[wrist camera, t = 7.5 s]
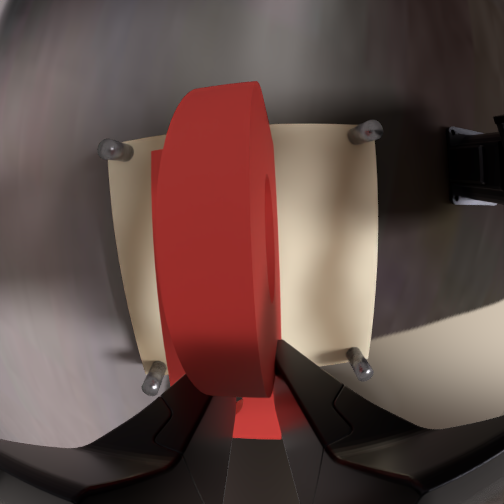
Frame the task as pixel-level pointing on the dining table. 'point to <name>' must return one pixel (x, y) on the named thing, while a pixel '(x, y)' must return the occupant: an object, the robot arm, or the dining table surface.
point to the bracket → (220, 250)
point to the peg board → (289, 235)
